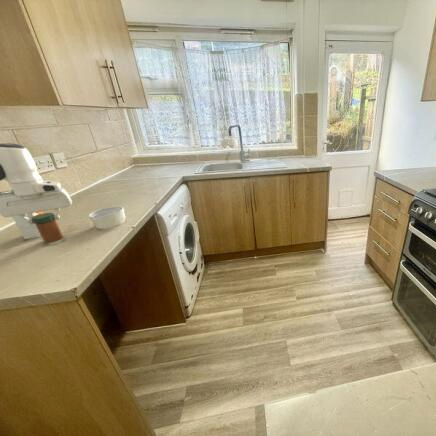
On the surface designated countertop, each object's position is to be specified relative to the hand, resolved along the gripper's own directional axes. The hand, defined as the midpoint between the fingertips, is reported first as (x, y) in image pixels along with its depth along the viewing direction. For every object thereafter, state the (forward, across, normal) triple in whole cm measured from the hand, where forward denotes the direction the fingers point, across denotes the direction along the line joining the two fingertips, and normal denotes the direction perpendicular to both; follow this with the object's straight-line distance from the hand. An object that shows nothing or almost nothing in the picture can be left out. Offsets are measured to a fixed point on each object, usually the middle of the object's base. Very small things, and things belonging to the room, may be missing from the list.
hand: (45, 221), depth 97 cm
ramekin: (+9, +20, +4) cm, 22 cm away
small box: (+9, -7, +12) cm, 17 cm away
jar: (+9, 0, 0) cm, 9 cm away
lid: (-2, 0, 0) cm, 2 cm away
